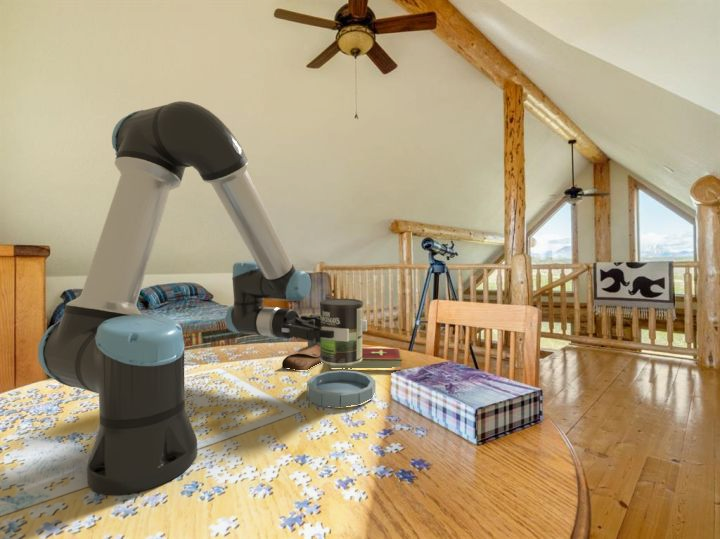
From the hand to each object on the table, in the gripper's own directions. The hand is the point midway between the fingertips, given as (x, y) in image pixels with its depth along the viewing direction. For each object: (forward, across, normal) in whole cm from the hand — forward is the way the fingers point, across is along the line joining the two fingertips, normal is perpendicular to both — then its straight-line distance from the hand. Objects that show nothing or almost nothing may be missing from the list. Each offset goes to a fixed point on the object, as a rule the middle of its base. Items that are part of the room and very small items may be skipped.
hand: (357, 330), depth 85 cm
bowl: (-4, 0, -16) cm, 16 cm away
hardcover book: (-7, -23, -17) cm, 29 cm away
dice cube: (-30, -34, -16) cm, 48 cm away
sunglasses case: (-24, -18, -17) cm, 34 cm away
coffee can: (-4, 0, -8) cm, 9 cm away
